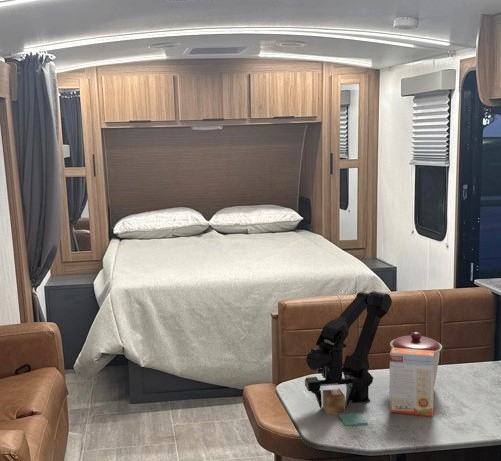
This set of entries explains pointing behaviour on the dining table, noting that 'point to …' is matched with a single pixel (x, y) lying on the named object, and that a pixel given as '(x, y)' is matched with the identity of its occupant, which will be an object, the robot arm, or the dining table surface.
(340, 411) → the walnut cube
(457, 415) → the dining table surface
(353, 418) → the teal pad
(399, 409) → the cracker box
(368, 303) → the robot arm
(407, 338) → the canister
